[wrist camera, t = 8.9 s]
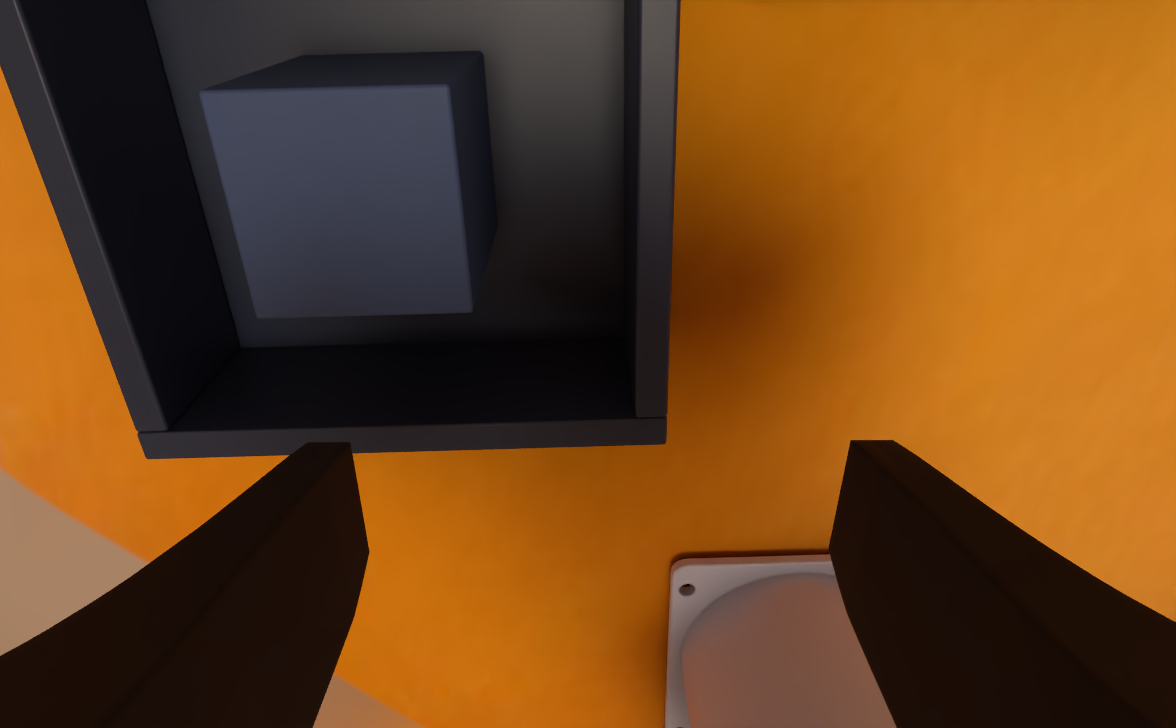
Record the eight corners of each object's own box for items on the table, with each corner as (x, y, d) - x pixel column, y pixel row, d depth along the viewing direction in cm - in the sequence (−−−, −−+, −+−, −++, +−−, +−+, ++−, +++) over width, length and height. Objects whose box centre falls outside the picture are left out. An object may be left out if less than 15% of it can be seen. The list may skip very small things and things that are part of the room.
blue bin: (648, 351, 20) (666, 445, 16) (229, 362, 20) (145, 460, 16) (657, -157, 15) (687, -200, 11) (84, -143, 15) (-94, -179, 11)
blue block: (498, 228, 18) (473, 314, 14) (333, 233, 18) (255, 320, 14) (483, 50, 16) (449, 84, 12) (298, 55, 16) (195, 90, 12)
